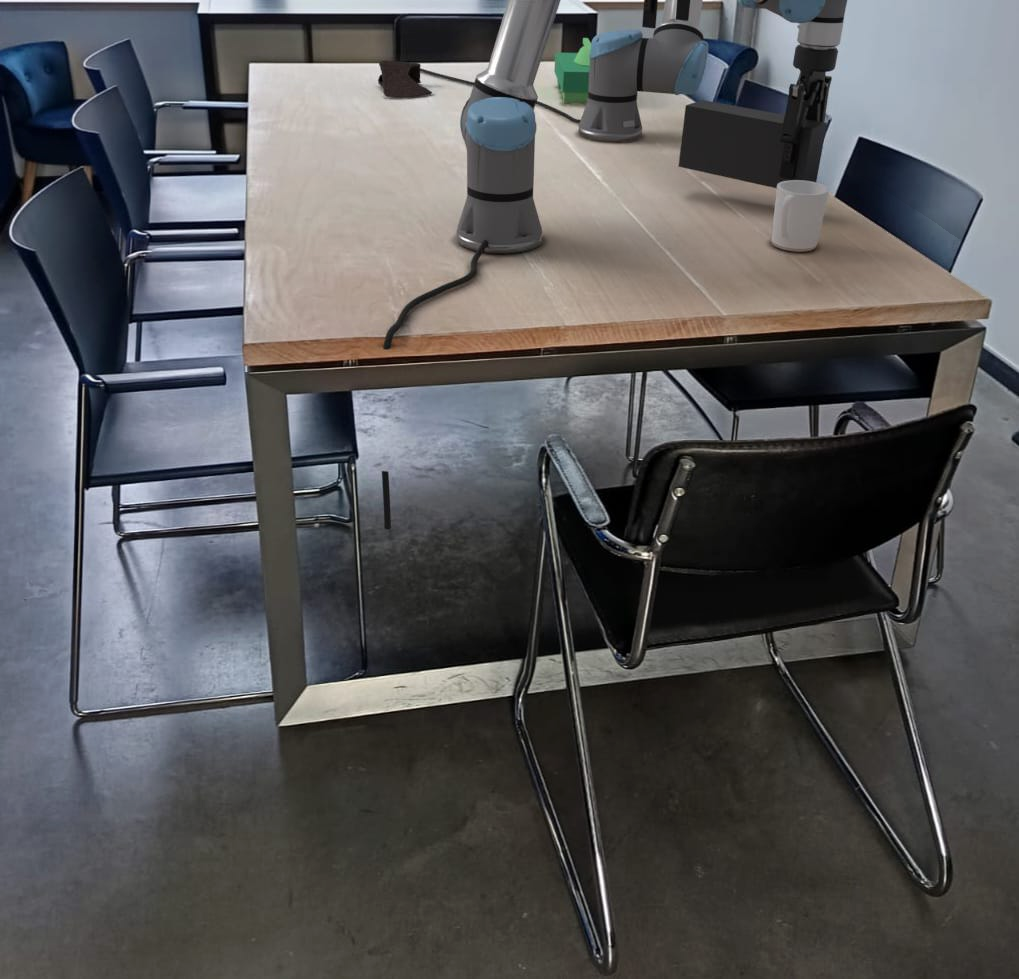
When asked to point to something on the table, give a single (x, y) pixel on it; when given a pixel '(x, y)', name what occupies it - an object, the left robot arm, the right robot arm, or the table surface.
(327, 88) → the table surface
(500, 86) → the left robot arm
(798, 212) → the mug
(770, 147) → the box
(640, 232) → the table surface
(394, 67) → the axe head
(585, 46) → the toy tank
